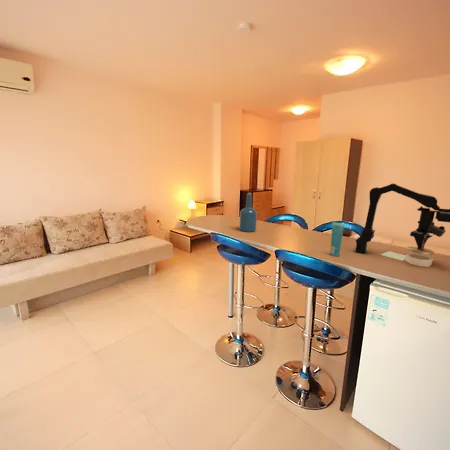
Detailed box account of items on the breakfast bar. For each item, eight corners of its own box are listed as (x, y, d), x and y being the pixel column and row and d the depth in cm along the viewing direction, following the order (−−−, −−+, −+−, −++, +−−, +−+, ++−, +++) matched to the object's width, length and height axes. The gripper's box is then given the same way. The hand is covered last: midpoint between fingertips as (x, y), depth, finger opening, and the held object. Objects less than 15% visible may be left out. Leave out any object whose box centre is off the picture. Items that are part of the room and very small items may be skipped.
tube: (342, 255, 153) (346, 223, 149) (339, 257, 149) (343, 224, 145) (329, 252, 158) (333, 221, 154) (326, 254, 154) (330, 222, 150)
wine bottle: (255, 232, 201) (257, 193, 195) (238, 231, 203) (240, 193, 197) (256, 228, 214) (258, 192, 208) (240, 227, 216) (241, 191, 210)
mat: (402, 261, 145) (402, 260, 145) (379, 255, 155) (379, 254, 155) (411, 257, 152) (411, 256, 152) (389, 252, 162) (389, 251, 162)
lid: (429, 256, 133) (431, 246, 132) (402, 250, 143) (404, 240, 142) (437, 252, 140) (439, 242, 139) (411, 246, 150) (413, 237, 149)
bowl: (425, 268, 135) (427, 261, 135) (402, 262, 144) (403, 255, 143) (433, 264, 142) (435, 257, 141) (410, 258, 151) (411, 252, 150)
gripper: (438, 224, 126) (432, 255, 129) (451, 221, 137) (444, 249, 140) (412, 220, 135) (406, 249, 138) (425, 217, 146) (420, 244, 149)
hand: (420, 248), depth 141 cm, fingers closed on lid, 3 cm apart
